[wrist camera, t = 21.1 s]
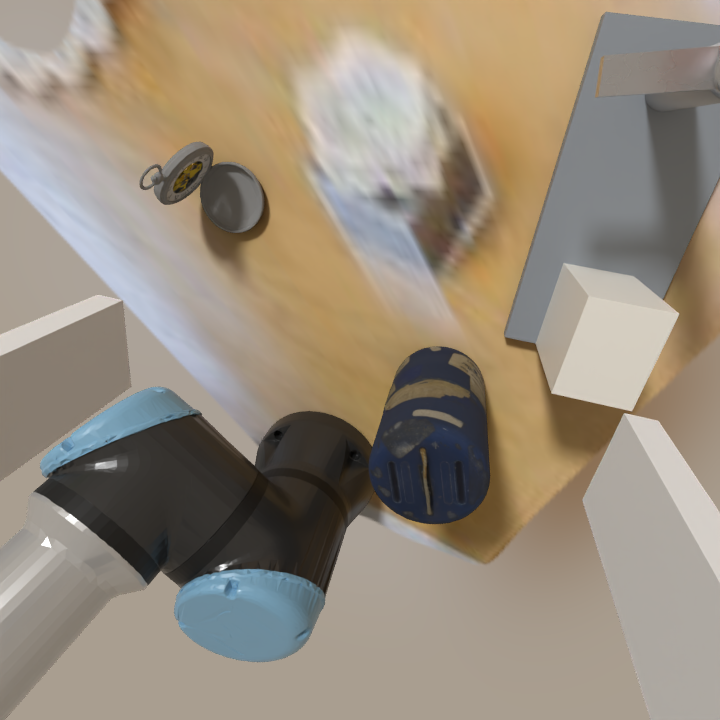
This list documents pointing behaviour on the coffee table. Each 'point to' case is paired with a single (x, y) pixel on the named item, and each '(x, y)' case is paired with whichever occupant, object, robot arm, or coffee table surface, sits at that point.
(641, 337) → the white block
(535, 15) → the coffee table surface
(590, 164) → the gray post stand
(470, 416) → the canister
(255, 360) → the coffee table surface
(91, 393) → the robot arm
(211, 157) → the pocket watch
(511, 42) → the coffee table surface
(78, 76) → the coffee table surface
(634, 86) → the multicoloured piece
